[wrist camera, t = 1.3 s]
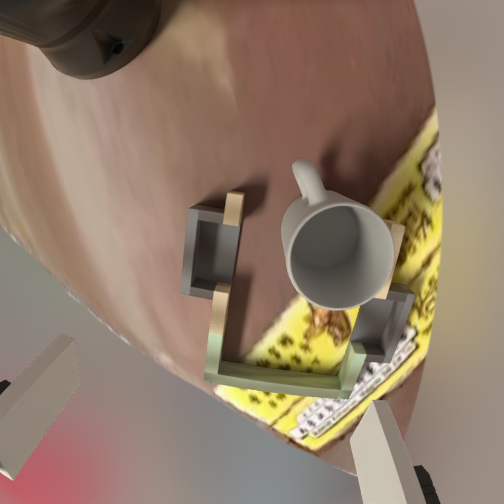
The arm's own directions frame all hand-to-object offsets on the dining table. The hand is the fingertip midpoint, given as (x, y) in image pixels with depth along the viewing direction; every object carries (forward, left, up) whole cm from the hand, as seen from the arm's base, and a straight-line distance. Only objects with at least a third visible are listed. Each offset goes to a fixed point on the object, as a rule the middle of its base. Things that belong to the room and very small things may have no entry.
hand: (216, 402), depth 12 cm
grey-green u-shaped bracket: (+5, +6, -23) cm, 24 cm away
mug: (-5, +6, -23) cm, 24 cm away
